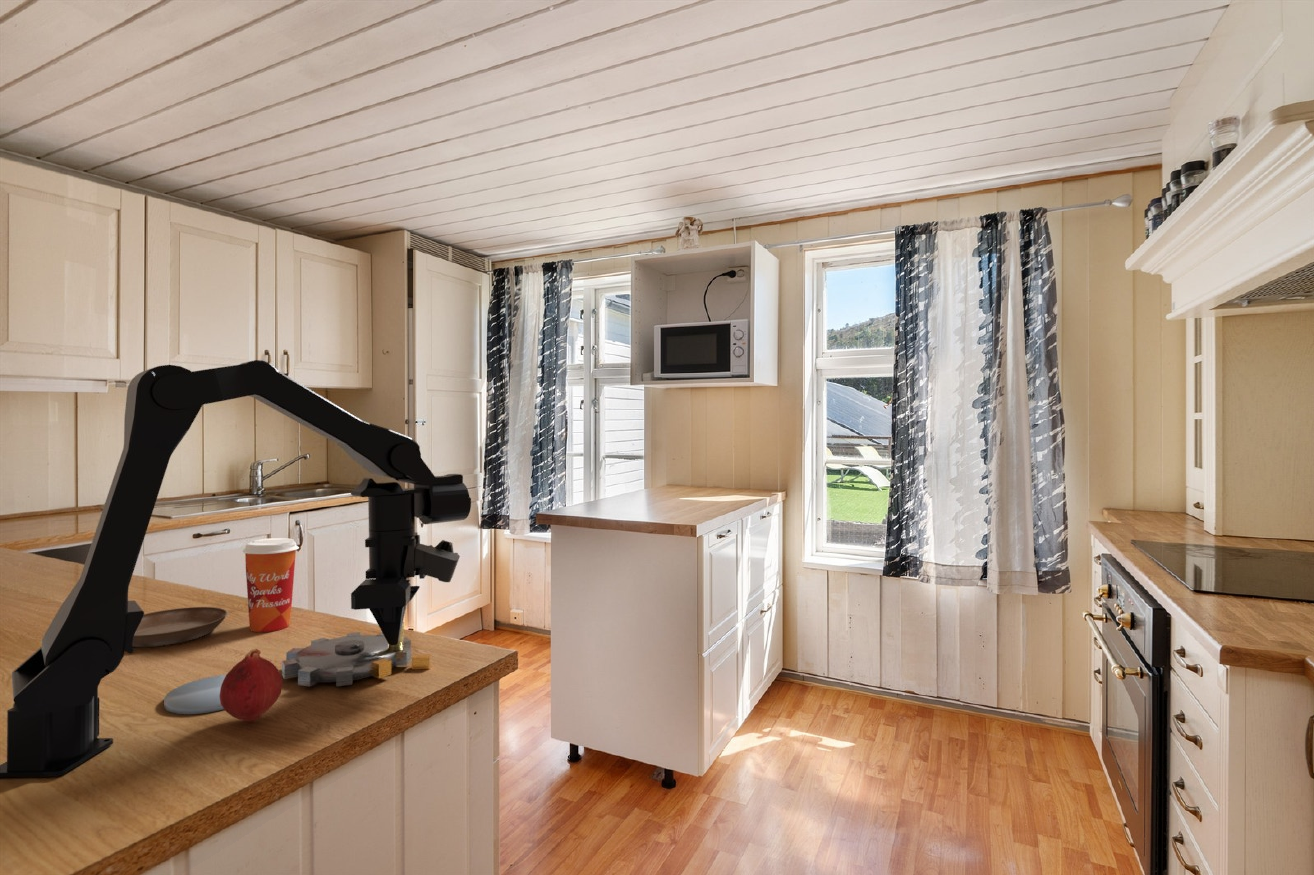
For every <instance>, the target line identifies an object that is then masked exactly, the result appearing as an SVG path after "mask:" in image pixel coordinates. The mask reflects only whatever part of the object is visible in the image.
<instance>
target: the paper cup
mask: <svg viewBox="0 0 1314 875" xmlns="http://www.w3.org/2000/svg"><path fill="white" fill-rule="evenodd" d="M244 547H245V548H244V549H243V550H242V552H243V554H245V557H244V558H245V576H246V591H247V594H246V595H247V608H248V610H247V611H248V620H249V621H248V622H249V629H250V630H249V631H251V630H252V631H255V632H254V633H270V632H271V631H272V632H276V631H281V630H285V629H286V628H288V627H289V626H290V625H291V624H290V623H291V617H292V615H291V614H292V607H293V606H292V604H293V593H294V592H293V591H294V579H295V578H294V576H295V569H296V568H295V565H296V552H297V550H299V548H300V547H299V546H298V545H297V542H296V541H295V539H293V538H291V537H290V538H289V537H287V538H286V537H273V538H272V537H270V538H261V539H254V540H251V541H249V542H247V543H246V544H245V546H244ZM252 631H251V632H252Z"/></svg>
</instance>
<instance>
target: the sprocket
mask: <svg viewBox="0 0 1314 875" xmlns="http://www.w3.org/2000/svg"><path fill="white" fill-rule="evenodd" d="M404 626H405V622H404V621H403V624H402V629H401V633H400V638H399V642H398V644H397V645H389V644H388V642H387V640H386V638H385V636H384V635H383V633H382V632H380V633H378V634H361V633H362V632H347V633H346V636H341V637H335V638H331V639H329V638H326V637H321V638H316V639H313V640H310V645H307V646H306V647H301V648H299V647H295V648H293V647H292V649H290V650H288V651H287V652H286V653H285V654H286V657H285V658H286V659H284V660H282V661H281V675H282V676H281V677H283V679H284V680H287V679H291V678H296V677H297V685H298V686H305V687H312V686H314V685H316V684H318V683H336V684H335V685H336V687H342V686H350V685H351V686H352V685H353V683H354V681H355V680H361V679H365V678H369V677H374V678H377V679H381V678H384V677H387V676H389V675H392V668H394V667H396V666H403V667H404V666H408V664H409V663H411V662H412V645H411V644H412V640H411V639H410V638H408V637H405V636H404V635H405V634H404V631H405V629H404V628H405V627H404Z"/></svg>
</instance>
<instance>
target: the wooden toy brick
mask: <svg viewBox="0 0 1314 875" xmlns="http://www.w3.org/2000/svg"><path fill="white" fill-rule="evenodd" d="M431 667H433V654H427V653H426V654H425V653H424V654H421V653H419V654H413V655H412V656H411V670H431Z"/></svg>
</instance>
